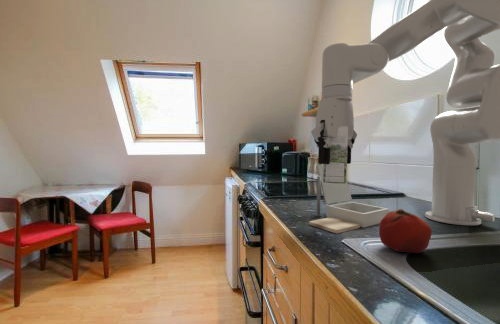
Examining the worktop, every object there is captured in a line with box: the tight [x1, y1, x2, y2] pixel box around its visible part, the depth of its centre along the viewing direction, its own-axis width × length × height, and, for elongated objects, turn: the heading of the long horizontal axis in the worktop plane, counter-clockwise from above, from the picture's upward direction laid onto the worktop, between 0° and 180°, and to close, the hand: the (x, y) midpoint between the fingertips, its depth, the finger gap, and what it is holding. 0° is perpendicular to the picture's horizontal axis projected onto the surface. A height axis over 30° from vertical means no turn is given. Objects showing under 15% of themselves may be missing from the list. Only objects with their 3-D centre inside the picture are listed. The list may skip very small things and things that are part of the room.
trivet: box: [308, 217, 360, 235], centre depth 66 cm, size 9×9×1 cm
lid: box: [315, 164, 353, 205], centre depth 80 cm, size 12×12×1 cm
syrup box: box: [322, 126, 348, 184], centre depth 65 cm, size 6×6×14 cm
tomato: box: [378, 208, 433, 254], centre depth 50 cm, size 9×9×8 cm
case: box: [316, 176, 390, 228], centre depth 73 cm, size 15×14×12 cm
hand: (334, 163), depth 65 cm, fingers closed on syrup box, 7 cm apart
